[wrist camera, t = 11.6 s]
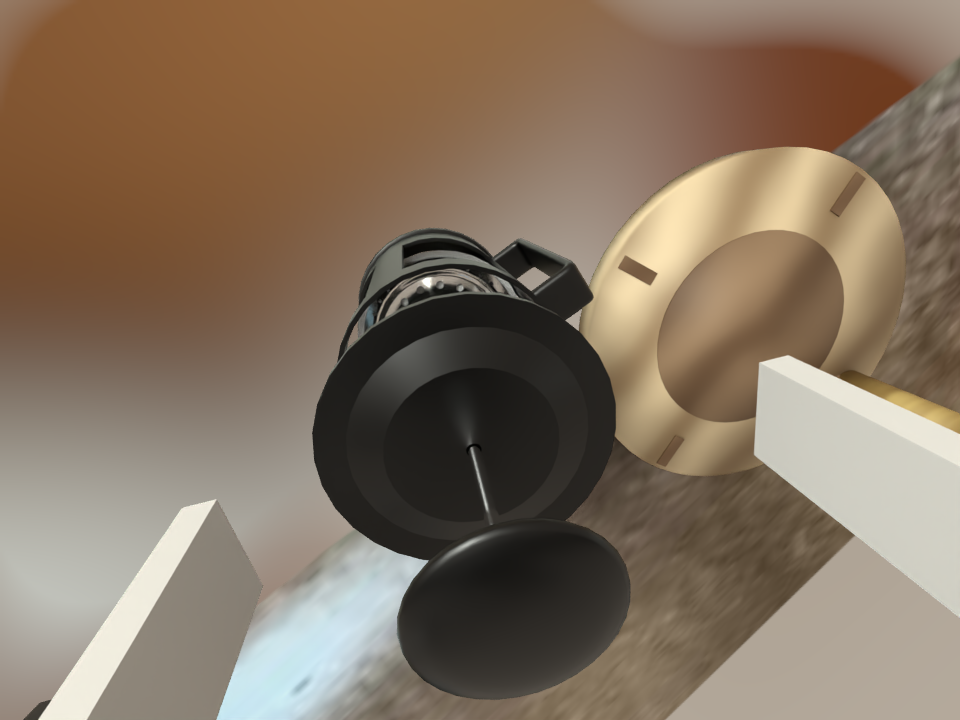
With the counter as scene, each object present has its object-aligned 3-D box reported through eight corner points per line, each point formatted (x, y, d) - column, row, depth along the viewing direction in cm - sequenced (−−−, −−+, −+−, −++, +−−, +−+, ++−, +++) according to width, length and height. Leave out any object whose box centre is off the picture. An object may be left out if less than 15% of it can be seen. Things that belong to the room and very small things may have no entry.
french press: (414, 403, 31) (437, 874, 10) (317, 296, 27) (28, 674, 6) (554, 302, 30) (918, 583, 9) (473, 177, 26) (757, 145, 5)
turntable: (519, 402, 31) (562, 482, 22) (705, 73, 25) (854, 18, 17) (747, 494, 37) (846, 582, 29) (935, 248, 32) (1125, 271, 23)
